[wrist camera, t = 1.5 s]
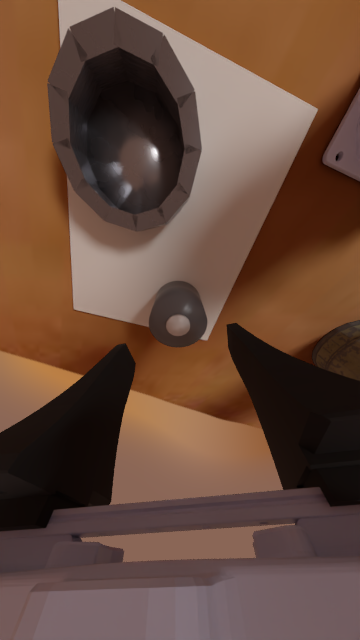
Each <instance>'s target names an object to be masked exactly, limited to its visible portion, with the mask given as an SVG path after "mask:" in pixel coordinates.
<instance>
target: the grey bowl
mask: <svg viewBox="0 0 360 640" xmlns="http://www.w3.org/2000/svg"><path fill="white" fill-rule="evenodd" d="M70 30H71V31H70ZM70 30H69V28H68V30H67V33H66V35H65V38H64V40H63V43H62V45H61V48H60V51H59V53H58V56H57V58H56V61H55V63H54V66H53V68H52V71H51V74H50V76H49V79H48V82H49V83H50V84H48V83H47V85H48V97H49V110H50V122H51V134H52V142H53V146H54V148H55V150H56V152H57V155H58V157H59V159H60V161H61V163H62V166H63V168H64V170H65V172H66V174H67V176H68V179H69V181H70V183H71V185H72V187H73V190H74V191H75V193H76V194H77V195H78V196H79V197H80V198H81V199H82V200H83V201H85V202H86V203H87V204H88V205H89V206H90V207H91V208H92V209H93V210H94V211H95V212H96V213H97V214H98V215H99V216H100V217H101V218H102V219H103V220H104V221H105V222H108V223H111V224H114V225H118V226H121V227H124V228H127V229H130V230H133V231H136V232H138V231H145V230H148V229H152V228H156V227H159V226H163V225H166V224H167V223H169V222H170V221H171V220H172V219H173V218H174V217H175V215H176V214H177V213H178V212H179V211H180V210H181V208H182V207H183V206H184V205H185V204H186V202H187V201H188V200H189V197H190V194H191V190H192V186H193V182H194V179H195V175H196V171H197V167H198V163H199V159H200V156H201V152H202V145H201V136H200V128H199V119H198V111H197V102H196V94H195V91H194V90H195V89H194V87H193V85H192V84H191V82H190V80H189V78H188V76H187V75H186V73H185V71H184V69H183V67H182V66H181V64H180V62H179V60H178V58H177V56H176V55H175V53H174V51H173V49H172V47H171V46H170V44H169V42H168V40H167V38H166V37H165V35H164V36H163V33H162V32H160V31H159V30H157V29H155V28H153V27H151V26H149V25H148V24H146V23H144V22H142V21H140V20H138V19H136V18H135V17H133V16H131V15H129V14H127V13H125V12H123V11H122V10H120V9H118V8H116V7H115V11H114V7H112V8H110V9H107V10H105V11H103V12H101V13H99V14H96V15H94V16H92V17H90V18H88V19H85V20H83V21H81V22H79V23H77V24H74V25H72V26H70Z"/></svg>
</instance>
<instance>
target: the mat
mask: <svg viewBox="0 0 360 640" xmlns="http://www.w3.org/2000/svg"><path fill="white" fill-rule="evenodd" d="M112 7H114V11H115V7H116V8H118V9H120V10H122V11H123V12H125V13H127V14H129V15H131V16H133V17H135V18H136V19H138V20H140V21H142V22H144V23H146V24H148V25H149V26H151V27H153V28H155V29H157V30H159V31H160V32H162V33H163V36H164V35H165V37H166V38H167V40H168V42H169V44H170V46H171V47H172V49H173V51H174V53H175V55H176V56H177V58H178V60H179V62H180V64H181V66H182V67H183V69H184V71H185V73H186V75H187V76H188V78H189V80H190V82H191V84H192V85H193V87H194V89H195V90H194V91H195V94H196V102H197V111H198V119H199V128H200V136H201V145H202V152H201V156H200V159H199V163H198V167H197V171H196V175H195V179H194V182H193V186H192V190H191V194H190V197H189V200H188V201H187V202H186V204H185V205H184V206H183V207H182V208H181V210H180V211H179V212H178V213H177V214H176V215H175V217H174V218H173V219H172V220H171V221H170V222H169V223H167V224H166V225H163V226H159V227H156V228H152V229H148V230H145V231H138V232H136V231H133V230H130V229H127V228H124V227H121V226H118V225H114V224H111V223H108V222H105V221H104V220H103V219H102V218H101V217H100V216H99V215H98V214H97V213H96V212H95V211H94V210H93V209H92V208H91V207H90V206H89V205H88V204H87V203H86V202H85V201H83V200H82V199H81V198H80V197H79V196H78V195H77V194H76V193H75V191H74V190H73V187H72V185H71V183H70V181H69V179H68V176H67V187H68V206H69V226H70V246H71V265H72V285H73V305H74V310H78V311H83V312H87V313H91V314H96V315H100V316H104V317H108V318H113V319H117V320H121V321H125V322H130V323H134V324H138V325H142V326H147V327H149V316H150V313H151V310H152V307H153V304H154V301H155V298H156V295H157V293H158V291H159V289H160V288H161V287H162V286H164V285H165V284H167V283H169V282H172V281H184V282H187V283H189V284H191V285H192V286H194V287H195V288H196V290H197V291H198V293H199V295H200V298H201V301H202V304H203V307H204V310H205V313H206V316H207V328H206V331H205V333H204V335H203V336H202V337H201V338H200V339H202V340H206V341H207V339H208V337H209V335H210V333H211V331H212V329H213V327H214V325H215V323H216V321H217V318H218V316H219V314H220V312H221V310H222V308H223V306H224V304H225V302H226V300H227V298H228V296H229V293H230V291H231V289H232V287H233V285H234V283H235V281H236V279H237V277H238V275H239V273H240V271H241V269H242V266H243V264H244V262H245V260H246V258H247V256H248V254H249V252H250V250H251V248H252V246H253V244H254V242H255V239H256V237H257V235H258V233H259V231H260V229H261V227H262V225H263V223H264V221H265V219H266V217H267V215H268V212H269V210H270V208H271V206H272V204H273V202H274V200H275V198H276V196H277V194H278V192H279V190H280V188H281V185H282V183H283V181H284V179H285V177H286V175H287V173H288V171H289V169H290V167H291V165H292V163H293V161H294V158H295V156H296V154H297V152H298V150H299V148H300V146H301V144H302V142H303V140H304V138H305V136H306V133H307V131H308V129H309V127H310V125H311V123H312V121H313V119H314V117H315V115H316V113H317V111H318V109H317V108H315V107H313V106H312V105H310V104H308V103H306V102H304V101H302V100H301V99H299V98H297V97H295V96H293V95H292V94H290V93H288V92H286V91H284V90H283V89H281V88H279V87H277V86H275V85H273V84H272V83H270V82H268V81H266V80H264V79H263V78H261V77H259V76H257V75H255V74H253V73H252V72H250V71H248V70H246V69H244V68H243V67H241V66H239V65H237V64H235V63H233V62H232V61H230V60H228V59H226V58H224V57H223V56H221V55H219V54H217V53H215V52H213V51H212V50H210V49H208V48H206V47H204V46H203V45H201V44H199V43H197V42H195V41H193V40H192V39H190V38H188V37H186V36H184V35H183V34H181V33H179V32H177V31H175V30H173V29H172V28H170V27H168V26H166V25H164V24H163V23H161V22H159V21H157V20H155V19H153V18H152V17H150V16H148V15H146V14H144V13H143V12H141V11H139V10H137V9H135V8H133V7H132V6H130V5H128V4H126V3H124V2H123V1H121V0H58V9H59V29H60V48H61V45H62V43H63V40H64V38H65V35H66V33H67V30H68V28H69V30H70V26H72V25H74V24H77V23H79V22H81V21H83V20H85V19H88V18H90V17H92V16H94V15H96V14H99V13H101V12H103V11H105V10H107V9H110V8H112ZM70 31H71V30H70Z"/></svg>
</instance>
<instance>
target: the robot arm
mask: <svg viewBox="0 0 360 640" xmlns="http://www.w3.org/2000/svg"><path fill="white" fill-rule="evenodd" d="M337 154H338V155H339V158H338V160H337V161H336V159H335V158H336V155H337ZM323 163H324V164H325V165H327V166H329V167H331V168H333V169H335V170H337V171H339V172H341V173H343V174H345V175H347V176H349V177H352V178H354V179H356V180H358V181H360V88H359V90H358V92H357V94H356V96H355V98H354V99H353V101H352V103H351V105H350V107H349V109H348V110H347V112H346V114H345V116H344V118H343V120H342V121H341V123H340V125H339V127H338V129H337V131H336V132H335V134H334V136H333V138H332V140H331V142H330V144H329V145H328V147H327V149H326V151H325V153H324V155H323ZM227 335H228V348H229V351H230V354H231V357H232V360H233V362H234V364H235V366H236V368H237V370H238V372H239V374H240V376H241V378H242V380H243V382H244V384H245V386H246V388H247V390H248V392H249V395H250V397H251V399H252V402H253V405H254V407H255V410H256V412H257V415H258V418H259V421H260V423H261V426H262V429H263V431H264V434H265V437H266V440H267V442H268V445H269V448H270V451H271V454H272V457H273V460H274V463H275V466H276V469H277V472H278V475H279V478H280V481H281V484H282V487H283V490H278V491H267V492H255V493H244V494H233V495H221V496H209V497H198V498H186V499H176V500H162V501H152V502H140V503H128V504H117V505H109V504H110V502H111V496H112V486H113V476H114V467H115V460H116V452H117V445H118V439H119V433H120V427H121V422H122V417H123V413H124V409H125V404H126V402H127V398H128V395H129V392H130V388H131V385H132V381H133V377H134V372H135V364H136V363H135V361H134V359H133V357H132V355H131V353H130V351H129V349H128V347H127V345H126V343H125V344H119V345H117V346H115V347H114V348H113V349H112V350H111V351H110V352H109V353H108V354H107V355H106V356H105V357H104V358H103V359H101V360H100V361H99V362H98V363H97V364H96V365H95V366H94V367H93V368H92V369H91V370H90V371H89V372H87V373H86V374H85V375H84V376H83V377H82V378H81V379H80V380H78V381H77V382H76V383H75V384H73V385H72V386H71V387H70V388H68V389H67V390H66V391H64V392H63V393H62V394H60V395H59V396H58V397H56V398H55V399H53V400H52V401H50V402H49V403H48V404H46V405H45V406H43V407H42V408H40V409H39V410H37V411H36V412H34V413H33V414H31V415H29V416H28V417H26V418H25V419H23V420H22V421H20V422H18V423H16V424H15V425H13V426H11V427H10V428H8V429H6V430H4V431H2V432H1V433H0V640H360V381H359V380H355V379H352V378H349V377H345V376H342V375H339V374H336V373H333V372H330V371H327V370H325V369H322V368H319V367H317V366H314V365H311V364H309V363H306V362H304V361H301V360H299V359H297V358H295V357H292V356H290V355H288V354H286V353H284V352H282V351H280V350H278V349H276V348H274V347H272V346H271V345H269V344H267V343H265V342H264V341H262V340H260V339H259V338H257V337H256V336H254V335H253V334H251V333H250V332H248V331H247V330H245V329H244V328H242V327H241V326H240V325H238V324H237V323H233V324H228V325H227ZM292 523H295V525H289V526H280V527H275V528H270V529H265V530H260V531H255V532H254V533H253V539H254V542H253V547H254V550H255V555H256V558H240V559H239V558H238V559H193V560H192V559H190V560H160V561H140V562H139V561H138V562H122V561H123V555H124V551H123V549H120V548H113V547H109V546H105V545H103V544H100V543H99V542H82V540H81V538H83V537H98V536H113V535H128V534H141V533H142V534H143V533H156V532H157V533H158V532H173V531H187V530H202V529H216V528H232V527H247V526H262V525H276V524H292Z"/></svg>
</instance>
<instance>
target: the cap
mask: <svg viewBox="0 0 360 640" xmlns="http://www.w3.org/2000/svg"><path fill="white" fill-rule="evenodd" d="M149 328H150V331H151V333H152V334H153V336H154V337H155V338H156V339H157V340H158V341H159V342H161V343H163V344H165V345H167V346H171V347H185V346H189V345H191V344H193V343H195V342H197V341H198V340H199V339H200V338H201V337H202V336H203V335H204V333H205V331H206V328H207V316H206V313H205V310H204V307H203V304H202V301H201V298H200V295H199V293H198V291H197V290H196V288H195V287H194V286H192V285H191V284H189V283H187V282H184V281H172V282H169V283H167V284H165V285H164V286H162V287H161V288H160V289H159V291H158V293H157V295H156V298H155V301H154V304H153V307H152V310H151V313H150V316H149Z"/></svg>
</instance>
